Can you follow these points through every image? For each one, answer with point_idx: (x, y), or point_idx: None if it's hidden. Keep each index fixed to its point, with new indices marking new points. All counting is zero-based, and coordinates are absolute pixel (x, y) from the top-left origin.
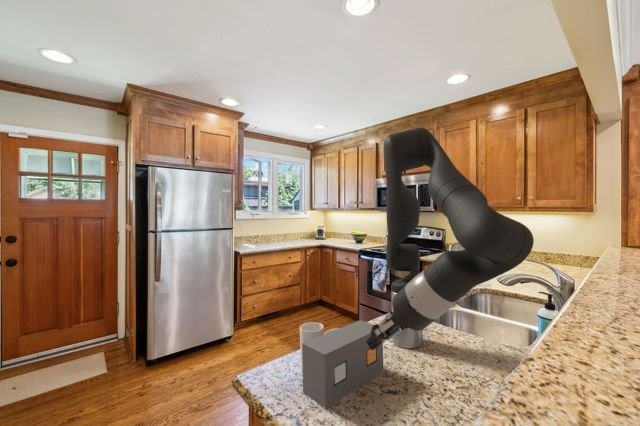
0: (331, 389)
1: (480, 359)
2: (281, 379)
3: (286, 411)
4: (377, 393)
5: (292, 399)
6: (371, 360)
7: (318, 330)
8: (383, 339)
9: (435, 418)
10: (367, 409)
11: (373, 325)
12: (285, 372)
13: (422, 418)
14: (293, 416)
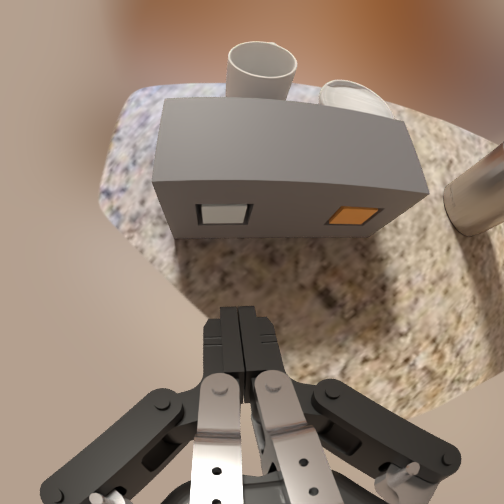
0: (190, 226)
1: (498, 334)
2: None
3: (119, 195)
4: (298, 280)
5: (149, 175)
6: (346, 221)
7: (261, 77)
8: (158, 472)
9: None
10: (239, 301)
11: (47, 493)
12: None
13: None
14: (118, 214)
